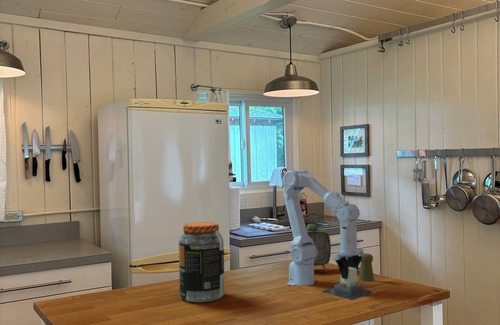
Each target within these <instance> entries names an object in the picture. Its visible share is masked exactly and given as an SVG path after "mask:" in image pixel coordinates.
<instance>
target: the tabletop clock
mask: <svg viewBox="0 0 500 325" xmlns="http://www.w3.org/2000/svg"><path fill="white" fill-rule="evenodd" d="M311 215H313V216H317V217H318V220H316V221H314V219H310V220H307V219H306V217H307V216H311ZM303 218H304V222H305V223H308V224H307V225H306V230H307V234H308V236H309V237H310V238H311V239H312V240H313V243H314V245H315V246H316V248H317V251H318V254H317V256H316V258H315V261H314V267H316V266H322V267H323V272H324V273H328V271H329V270H328V269H327V268H326V267H325V265H328V264H329V262H330V259H331V253H332V252H331V250H332V246H331V244H332V243H331V237H330V235H329V233H328V232H327V231H326V230H323V229H320V228H319V227H318V225H317V224H316V223H318V222H319V221H320V220H321V216H320V215H319V214H318V213H315V212H310V213H306V214H305V215H303ZM302 245H303V244H302Z"/></svg>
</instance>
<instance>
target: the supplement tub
mask: <svg viewBox="0 0 500 325" xmlns="http://www.w3.org/2000/svg"><path fill="white" fill-rule="evenodd" d="M182 231H183V233H182V235H181V236H180V237H179V239H178V240H179V241H178V253H179V254H178V263H179V265H178V266H179V267H178V268H179V269H178V270H179V296H180V298H182V299H183V300H184V301H186V302H193V303H205V302H207V303H208V302H213V301H214V302H215V301H217V300H219V299H221V298H222V297H223V296H224V295H225V255H224V254H225V248H224V247H225V246H224V245H225V244H224V243H225V242H224V238H223V235H222V234H221V233H220V227H219V223H218V222H212V221H202V222H201V221H200V222H199V221H198V222H197V221H195V222H187V223H184V224H183V228H182Z"/></svg>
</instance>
